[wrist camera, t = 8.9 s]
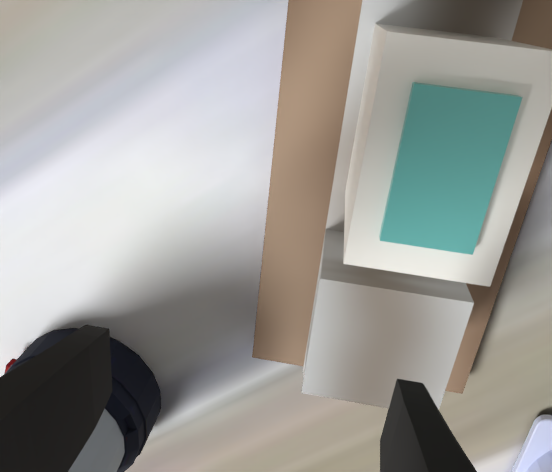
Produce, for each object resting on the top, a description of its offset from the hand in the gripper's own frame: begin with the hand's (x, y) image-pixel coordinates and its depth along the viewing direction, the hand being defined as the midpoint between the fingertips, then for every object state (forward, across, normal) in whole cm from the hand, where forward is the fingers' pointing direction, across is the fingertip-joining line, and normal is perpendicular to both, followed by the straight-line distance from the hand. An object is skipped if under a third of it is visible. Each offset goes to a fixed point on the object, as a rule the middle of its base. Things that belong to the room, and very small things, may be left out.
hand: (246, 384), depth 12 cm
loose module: (+9, -4, -5) cm, 11 cm away
